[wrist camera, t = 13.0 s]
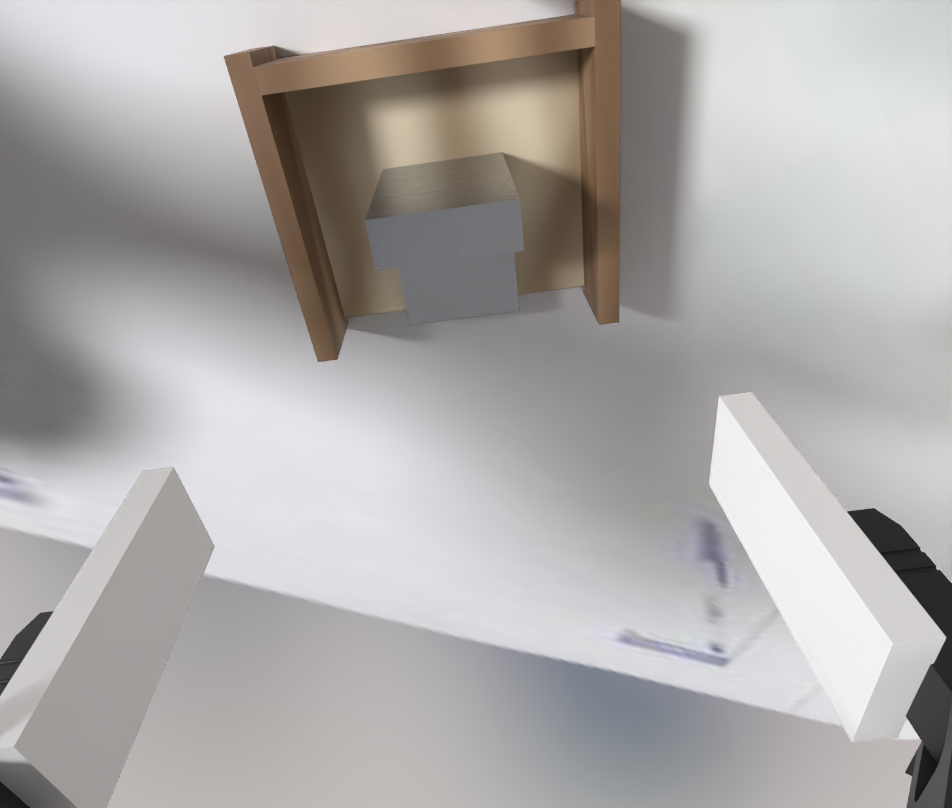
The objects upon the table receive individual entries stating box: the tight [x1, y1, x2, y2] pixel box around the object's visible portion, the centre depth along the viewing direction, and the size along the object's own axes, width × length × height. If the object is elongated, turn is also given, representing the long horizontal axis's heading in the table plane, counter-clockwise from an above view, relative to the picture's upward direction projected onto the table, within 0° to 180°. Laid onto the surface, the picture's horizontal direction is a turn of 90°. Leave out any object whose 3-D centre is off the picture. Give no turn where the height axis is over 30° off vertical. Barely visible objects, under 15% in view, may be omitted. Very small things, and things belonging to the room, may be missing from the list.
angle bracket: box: [365, 152, 524, 325], centre depth 34 cm, size 9×7×10 cm
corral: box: [224, 0, 621, 362], centre depth 35 cm, size 18×16×5 cm
